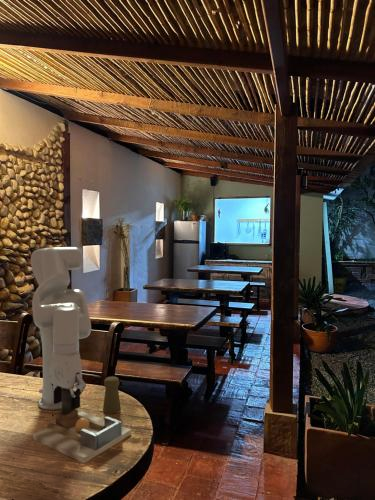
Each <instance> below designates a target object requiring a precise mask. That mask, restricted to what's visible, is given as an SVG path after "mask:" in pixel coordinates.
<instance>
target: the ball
mask: <svg viewBox="0 0 375 500" xmlns="http://www.w3.org/2000/svg"><path fill="white" fill-rule="evenodd" d="M75 427H76V430H77V431H78V432H80V430H81V429H86V430H88V428H89V421H88V419H86V418H80V419H78V420H77V422H76V425H75Z"/></svg>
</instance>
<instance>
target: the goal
mask: <svg viewBox="0 0 375 500" xmlns="http://www.w3.org/2000/svg"><path fill="white" fill-rule="evenodd" d="M103 418H104V429H103V430H101V431H99V432H98V433H96V434H95V433H93V432H90V431H88V430H86V429H81V430H80V436H81V445H84V446H86V447H88V448H90V449H93V450H95V451H96V450H98V449H99V448H101V447H103V446H104V445H106V444H108V443H109V442H111V441H113V440H114V439H116V438H118V437H119V436H121V435H122V421H121V420H118V419H116V418H113V417H110V416H105V417H103Z"/></svg>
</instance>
